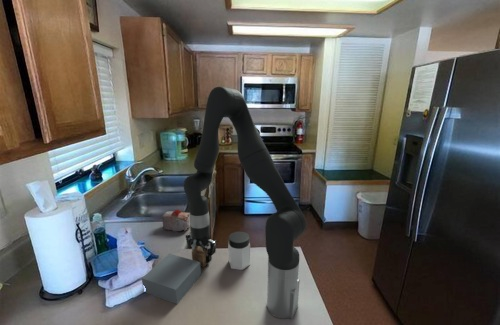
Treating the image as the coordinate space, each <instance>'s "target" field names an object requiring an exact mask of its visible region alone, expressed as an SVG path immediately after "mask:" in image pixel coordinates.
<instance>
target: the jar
mask: <svg viewBox="0 0 500 325" xmlns="http://www.w3.org/2000/svg"><path fill="white" fill-rule="evenodd" d="M227 246H228V249H227V250H228V262H229V265H230V269H233V270H238V271H239V270H240V271H243V270H244V269H246V268H247V267H249V266H250V265H251V243H250V235H249V234H248V233H247V232H245V231H234V232H232V233H230V234H229V236H228V243H227Z"/></svg>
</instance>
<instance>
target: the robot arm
mask: <svg viewBox="0 0 500 325" xmlns="http://www.w3.org/2000/svg"><path fill="white" fill-rule="evenodd" d="M224 118H228V119H229V121H230V122H231V123H232V125H233V128H234V130H235V132H236V136H237V156H238V159H239V162H240V164H241V166H242V168H243V171H244V173H245V175H246V176H247V178H248V179H249V180H250V181H251V182H252V183H254V185H255V186H256V187H258V188H259V189H261V190H262V191H263V192H264V193H265V194H266V195H267V197H269V199H270V200H271V202H272V204H273V206H274V208H275V210H276V212H273V214H271V215H269V216H268V218H267V219H266V222H265V250H266V253H267V256H268V258H267V293H266V295H267V297H266V306H267V307H266V308H267V310H268V312H269V313H270V314H271V315H272V316H274V317H276V318H278V319H291V320H292V319H294V317H295V313H296V311H297V308H298V306H299V295H300V294H299V292H300V282H301V281H300V279H299V272H300V271H299V269H300V252H299V250H298V249H297V248H296V247H295V246H294V241H296V240H297V239H298V238H299V237H301V236H302V235H303V233H305V232H306V229H307V221H306V217H305V215H304V213H303V211H302V209H301V208H300V206H299V205H298V203H297V201H296V200H295V199H294V197H293V195H292V194H291V192H290V191H289V189H288V188H287V185H286V183H285V182H284V179H283V178H282V176H281V174H280V172H279V170H278V168H277V166H276V165H275V162H274V160H273V158H272V156H271V154H270V152H269V149H268V148H267V146H266V144H265V142H264V141H263V138H262V137H261V134H260V133H259V130H258V128H257V126H256V125H255V122H254V120H253V118H252V115H251V112H250V110H249V107H248V104H247V102H246V99H245V97H244V96H243V94H242V93H241V91H239V90H237V89H234V88H229V87H227V86H216V87H214V88H212V90H211V91H210V92H209V94H208V97H207V101H206V106H205V113H204V120H203V124H202V125H203V126H202V132H201V139H200V143H199V146H198V149H197V153H196V156H195V159H194V161H193V162H194V163H193V165H194V168H195V170H196V172H195V173H193V174H191V175H189V176H187V177H186V178H185V179H184V182H183V190H184V193H185V196H186V199H187V201H188V204H189V205H188V206H189V213H190V227H189V229H190V230H189V231H190V232H189V233H187V234H186V235H185V240H186V244H187V247H188V248H187V249H191V252H192V251H193V250H194V249H195V248H196V247H198V246H200V247H202V249H203V251H204V252H205V254H206V263H207V265H208V264H209V263H210V262H211V261H212V259H211V256H214V254H216V251H217V245H218V244H217V243H218V241H217V239H214V240H213V239H211V236H210V235H211V223H210V222H211V221H210V219H211V218H210V213H209V211H210V210H209V200H208V198H207V197H206V196H205V195H202V192H203V191H205V190H207V189H208V188H209V186H210V185H211V183H212V180H213V174H214V166H215V164H216V161H217V159H218V156H219V151H220V144H219V143H220V142H219V129H220V128H219V127H220V126H221V123H222V121H223V119H224ZM205 246H206V247H205ZM207 249H208V251H207Z"/></svg>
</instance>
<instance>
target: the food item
mask: <svg viewBox="0 0 500 325" xmlns="http://www.w3.org/2000/svg"><path fill="white" fill-rule="evenodd" d="M161 219H162V227H163V228H162V229H163V230H169V231H172V232H181V231H182V230H184V231H182V232H187V230H188V229H190V212H185V211H184V212H182V210H180V209H174V211H172V210H171V211H170V210H169V211H166V212H164V214H162V216H161ZM187 228H188V229H187Z"/></svg>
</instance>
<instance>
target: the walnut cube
mask: <svg viewBox="0 0 500 325" xmlns="http://www.w3.org/2000/svg"><path fill="white" fill-rule="evenodd" d="M206 246H207V245H206ZM206 246H205V247H206ZM207 251H208V249H207ZM212 256H213V255H212ZM212 256H211V260H212V259H213V257H212ZM191 260H194V261H198V262H200V267H202V268H205V267H206V266H207V265H208V264H207V263H206V254H205V252H204V251H203V249H202V247H200V246H198V247H196V248H195V249H194V250H193V251H192V250H191Z"/></svg>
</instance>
